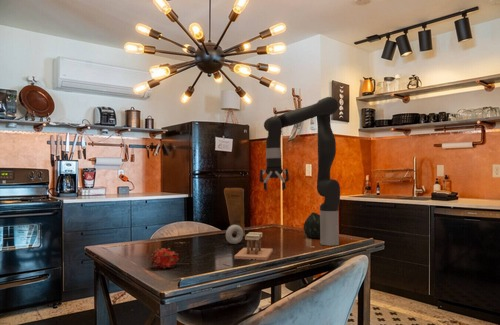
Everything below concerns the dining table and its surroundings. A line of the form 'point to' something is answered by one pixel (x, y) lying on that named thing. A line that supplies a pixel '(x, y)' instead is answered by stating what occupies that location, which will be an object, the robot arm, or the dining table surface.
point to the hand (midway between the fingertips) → (274, 190)
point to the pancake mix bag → (235, 206)
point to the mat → (261, 254)
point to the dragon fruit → (164, 258)
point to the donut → (231, 230)
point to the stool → (252, 237)
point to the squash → (312, 226)
